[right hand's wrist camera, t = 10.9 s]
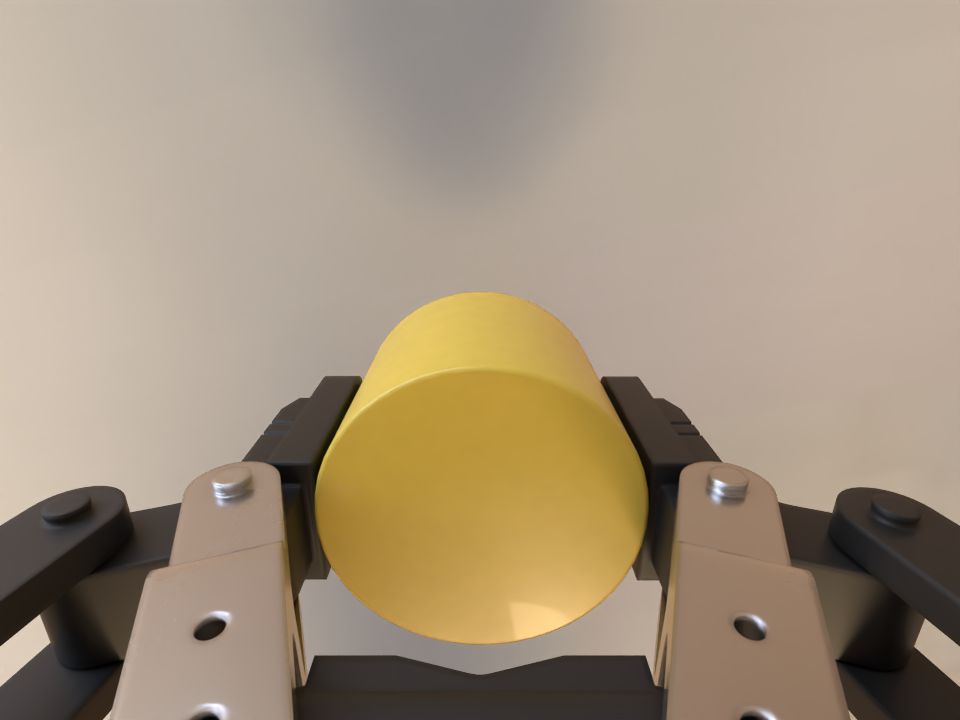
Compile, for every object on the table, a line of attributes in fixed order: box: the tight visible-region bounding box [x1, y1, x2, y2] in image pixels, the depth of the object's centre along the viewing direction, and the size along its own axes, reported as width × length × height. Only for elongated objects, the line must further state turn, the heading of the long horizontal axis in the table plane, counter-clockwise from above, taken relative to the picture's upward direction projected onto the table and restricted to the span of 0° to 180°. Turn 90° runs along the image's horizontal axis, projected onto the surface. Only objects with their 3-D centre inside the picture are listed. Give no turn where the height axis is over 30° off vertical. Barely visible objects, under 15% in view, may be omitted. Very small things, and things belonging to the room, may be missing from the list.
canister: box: [315, 292, 649, 645], centre depth 10 cm, size 5×5×4 cm
